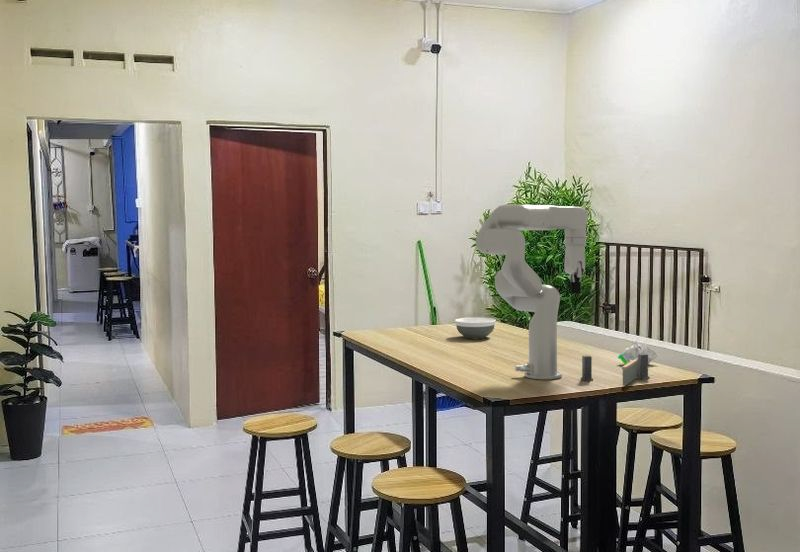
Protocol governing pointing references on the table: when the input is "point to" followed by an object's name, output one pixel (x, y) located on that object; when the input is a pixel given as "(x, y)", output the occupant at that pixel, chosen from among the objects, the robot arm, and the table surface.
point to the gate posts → (588, 367)
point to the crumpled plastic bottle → (637, 352)
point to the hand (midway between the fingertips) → (575, 293)
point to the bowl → (475, 326)
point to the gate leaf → (630, 371)
